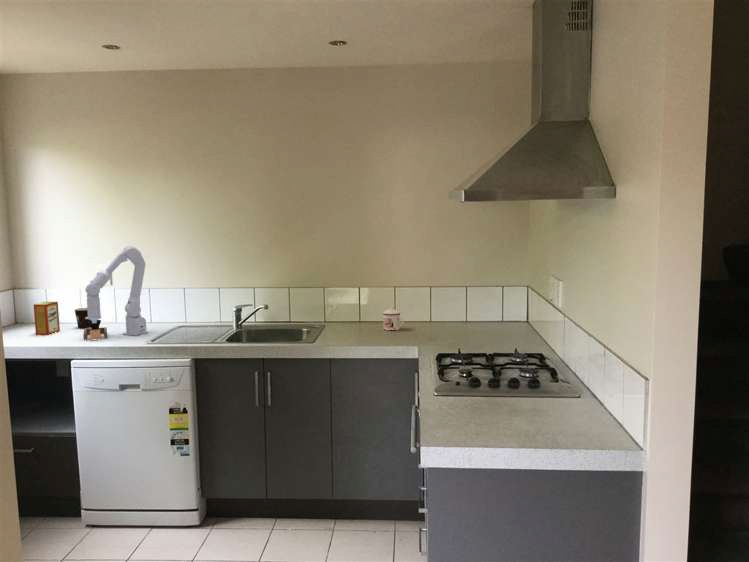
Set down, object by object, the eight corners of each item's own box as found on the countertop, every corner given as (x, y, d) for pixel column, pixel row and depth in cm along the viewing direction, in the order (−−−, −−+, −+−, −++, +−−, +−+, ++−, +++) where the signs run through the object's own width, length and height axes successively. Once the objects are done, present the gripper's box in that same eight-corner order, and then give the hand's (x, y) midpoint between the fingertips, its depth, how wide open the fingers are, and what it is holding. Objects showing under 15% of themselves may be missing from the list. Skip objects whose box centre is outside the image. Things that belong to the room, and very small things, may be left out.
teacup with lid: (379, 329, 311) (379, 307, 309) (389, 327, 318) (389, 305, 316) (398, 332, 303) (398, 309, 302) (408, 329, 310) (408, 307, 309)
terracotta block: (90, 338, 295) (90, 329, 294) (100, 337, 297) (99, 329, 296) (90, 340, 291) (89, 331, 290) (100, 339, 293) (99, 330, 292)
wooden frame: (84, 334, 304) (84, 329, 303) (107, 333, 308) (106, 327, 308) (83, 340, 292) (83, 334, 291) (107, 338, 296) (107, 332, 295)
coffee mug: (76, 326, 325) (74, 308, 324) (93, 325, 329) (92, 307, 327) (75, 330, 315) (74, 311, 313) (93, 329, 318) (92, 310, 317)
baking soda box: (47, 335, 304) (45, 303, 302) (35, 335, 305) (33, 303, 303) (59, 331, 313) (57, 300, 311) (48, 331, 314) (45, 300, 312)
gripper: (85, 306, 300) (86, 333, 302) (84, 310, 287) (86, 338, 289) (100, 305, 303) (102, 331, 305) (100, 309, 290) (102, 337, 292)
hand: (95, 335), depth 297 cm, fingers closed
